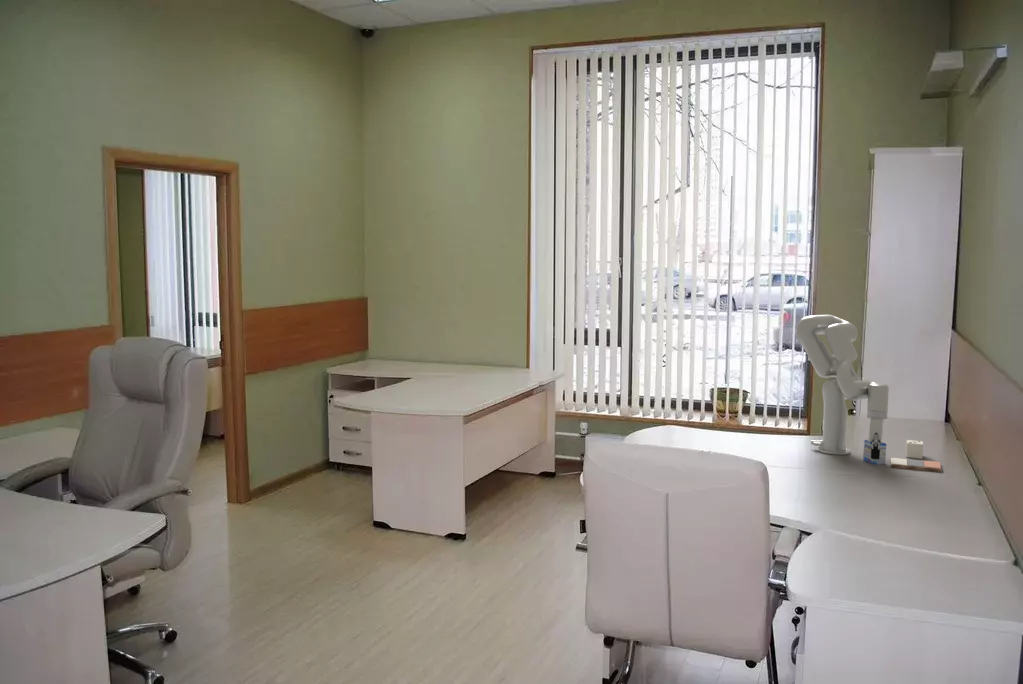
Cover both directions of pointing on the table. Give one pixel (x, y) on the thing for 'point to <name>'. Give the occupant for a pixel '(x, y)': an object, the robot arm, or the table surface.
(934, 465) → the striped colour swatch board
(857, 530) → the table surface
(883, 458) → the medicine box
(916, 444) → the die
